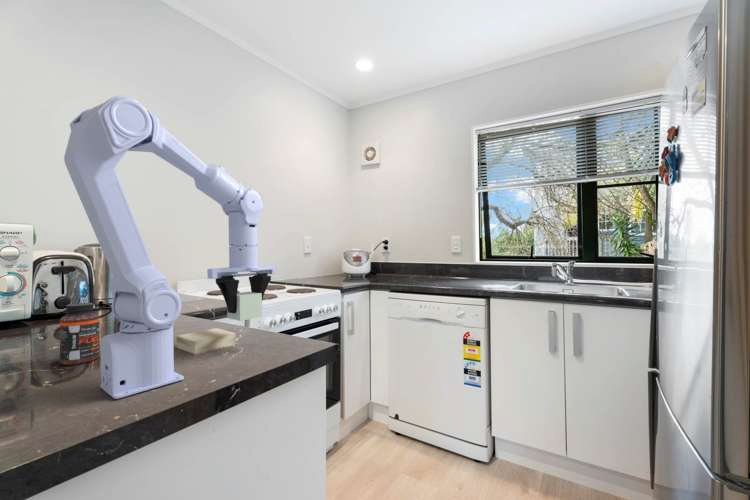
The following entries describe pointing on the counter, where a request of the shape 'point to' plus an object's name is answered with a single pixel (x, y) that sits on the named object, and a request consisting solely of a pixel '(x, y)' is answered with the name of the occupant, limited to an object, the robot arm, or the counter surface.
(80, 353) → the supplement bottle
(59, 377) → the counter surface
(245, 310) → the sage cube
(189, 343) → the maple slab
